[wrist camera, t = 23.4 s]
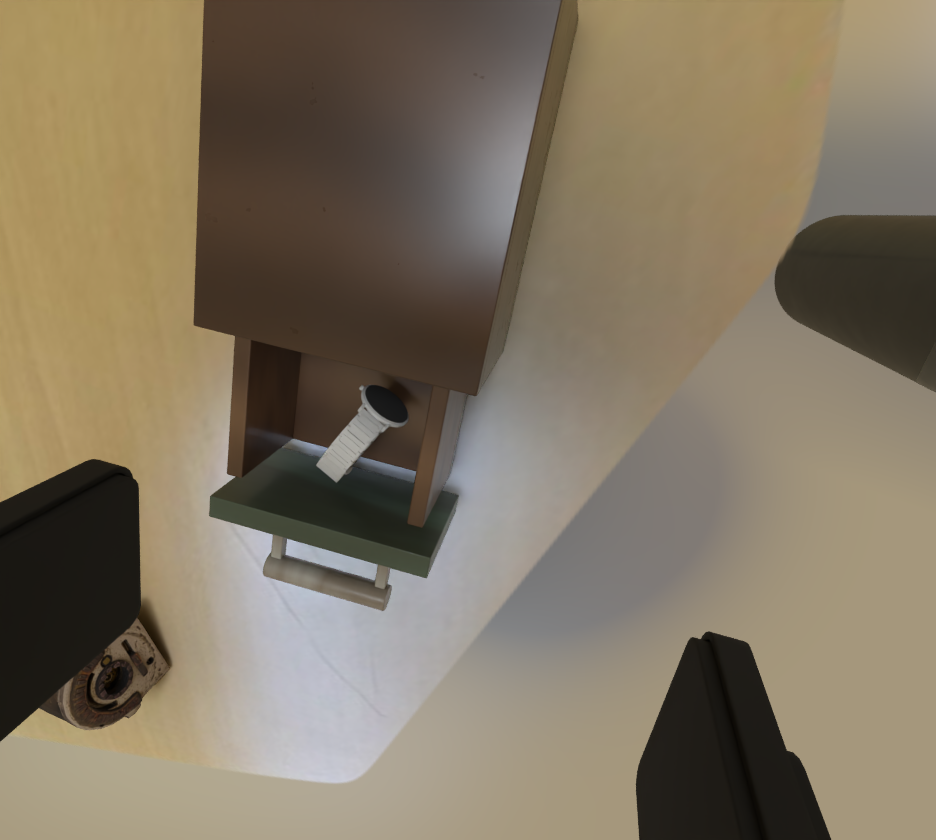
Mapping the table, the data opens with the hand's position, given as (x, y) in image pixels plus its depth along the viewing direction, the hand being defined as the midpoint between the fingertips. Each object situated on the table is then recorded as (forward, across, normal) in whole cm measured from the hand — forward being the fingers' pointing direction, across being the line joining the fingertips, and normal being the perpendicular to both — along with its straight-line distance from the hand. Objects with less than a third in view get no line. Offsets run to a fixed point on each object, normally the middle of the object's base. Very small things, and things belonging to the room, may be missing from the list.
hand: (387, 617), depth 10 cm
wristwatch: (+22, +7, +6) cm, 24 cm away
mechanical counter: (+23, +27, +29) cm, 46 cm away
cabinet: (+24, +8, -7) cm, 26 cm away
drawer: (+23, +8, +6) cm, 25 cm away
